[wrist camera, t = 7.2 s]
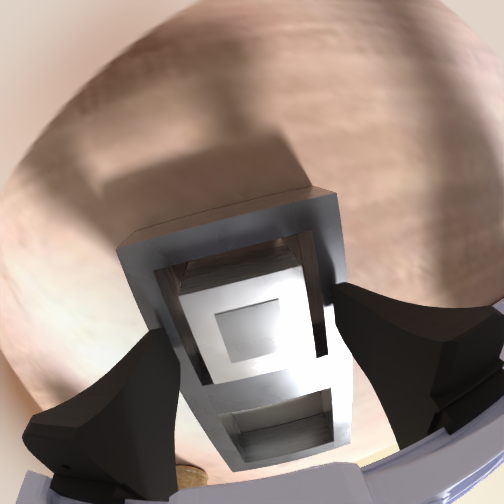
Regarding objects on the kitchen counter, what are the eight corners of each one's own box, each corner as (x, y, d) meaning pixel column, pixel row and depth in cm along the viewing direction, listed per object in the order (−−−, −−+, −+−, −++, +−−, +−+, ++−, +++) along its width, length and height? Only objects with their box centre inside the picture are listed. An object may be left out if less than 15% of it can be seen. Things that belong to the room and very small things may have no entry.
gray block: (277, 233, 14) (302, 266, 10) (292, 309, 16) (316, 360, 11) (190, 255, 14) (177, 296, 10) (214, 329, 15) (214, 385, 11)
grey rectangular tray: (313, 185, 13) (336, 192, 11) (338, 416, 19) (350, 443, 16) (135, 231, 13) (115, 249, 10) (230, 443, 19) (232, 472, 16)
